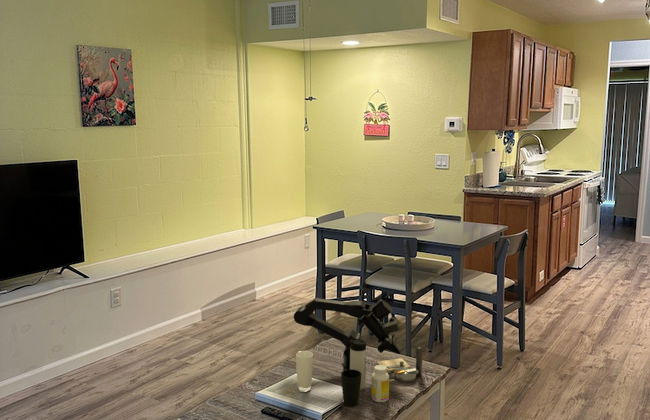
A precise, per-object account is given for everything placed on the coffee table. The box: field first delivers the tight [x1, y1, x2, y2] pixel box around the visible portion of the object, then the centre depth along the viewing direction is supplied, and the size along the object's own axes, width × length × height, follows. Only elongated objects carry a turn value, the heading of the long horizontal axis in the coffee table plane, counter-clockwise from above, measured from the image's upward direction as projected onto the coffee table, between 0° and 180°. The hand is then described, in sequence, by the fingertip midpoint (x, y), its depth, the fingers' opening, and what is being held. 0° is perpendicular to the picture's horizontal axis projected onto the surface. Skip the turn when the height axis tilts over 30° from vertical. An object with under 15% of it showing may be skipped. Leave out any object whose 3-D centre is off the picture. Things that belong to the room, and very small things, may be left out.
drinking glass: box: [295, 350, 314, 388], centre depth 234 cm, size 7×7×15 cm
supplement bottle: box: [370, 364, 390, 403], centre depth 227 cm, size 7×7×13 cm
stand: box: [376, 357, 412, 374], centre depth 256 cm, size 12×9×3 cm
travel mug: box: [350, 339, 367, 392], centre depth 235 cm, size 6×7×20 cm
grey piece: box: [393, 346, 424, 384], centre depth 245 cm, size 12×9×12 cm
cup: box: [340, 369, 362, 408], centre depth 223 cm, size 8×8×12 cm
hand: (399, 353), depth 251 cm, fingers closed
